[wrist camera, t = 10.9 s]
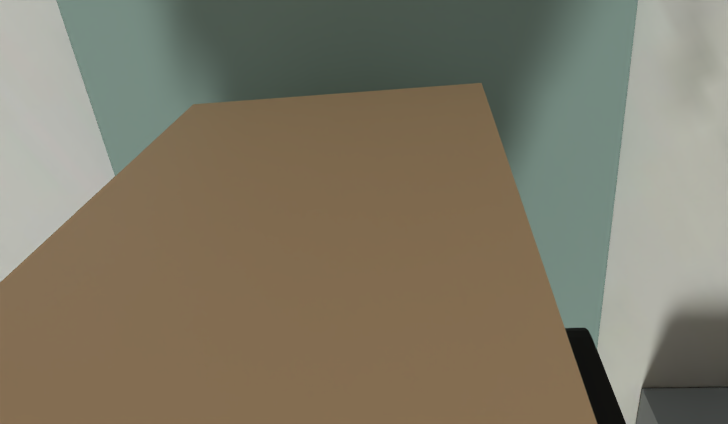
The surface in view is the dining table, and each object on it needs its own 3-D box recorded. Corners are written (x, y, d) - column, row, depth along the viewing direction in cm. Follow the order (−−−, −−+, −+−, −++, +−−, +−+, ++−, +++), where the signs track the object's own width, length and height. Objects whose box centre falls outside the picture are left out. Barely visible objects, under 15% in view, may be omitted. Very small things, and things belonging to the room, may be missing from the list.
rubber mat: (654, -253, 9) (668, -262, 9) (576, 462, 17) (581, 480, 17) (20, -166, 11) (0, -168, 10) (221, 461, 19) (215, 478, 18)
